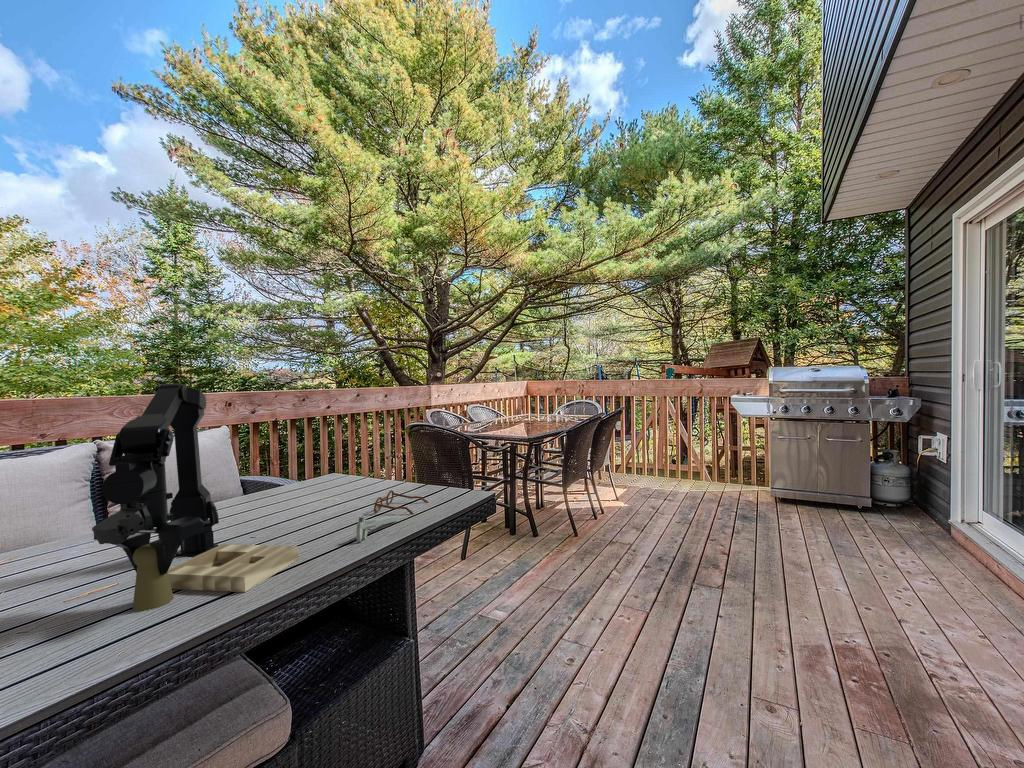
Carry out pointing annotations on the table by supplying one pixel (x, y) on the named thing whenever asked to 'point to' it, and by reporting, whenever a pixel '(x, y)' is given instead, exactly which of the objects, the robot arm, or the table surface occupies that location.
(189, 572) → the block
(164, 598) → the olive knobbed peg
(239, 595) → the table surface
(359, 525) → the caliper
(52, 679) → the table surface
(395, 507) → the glasses
